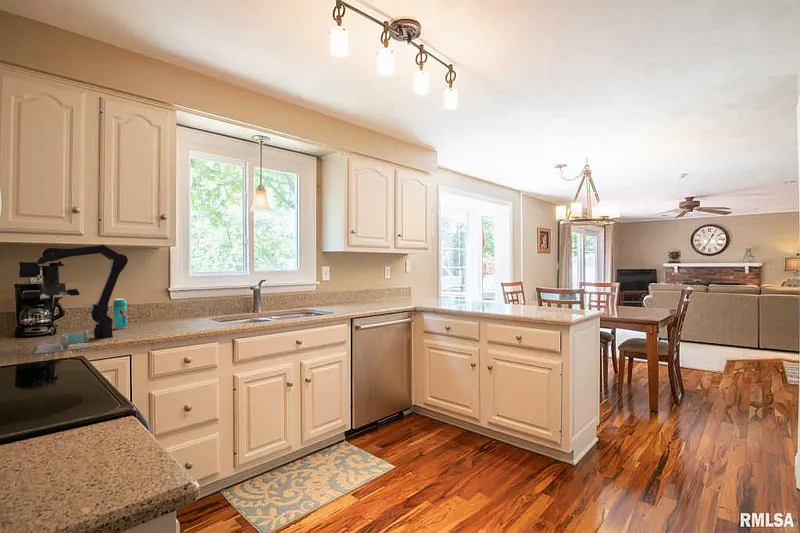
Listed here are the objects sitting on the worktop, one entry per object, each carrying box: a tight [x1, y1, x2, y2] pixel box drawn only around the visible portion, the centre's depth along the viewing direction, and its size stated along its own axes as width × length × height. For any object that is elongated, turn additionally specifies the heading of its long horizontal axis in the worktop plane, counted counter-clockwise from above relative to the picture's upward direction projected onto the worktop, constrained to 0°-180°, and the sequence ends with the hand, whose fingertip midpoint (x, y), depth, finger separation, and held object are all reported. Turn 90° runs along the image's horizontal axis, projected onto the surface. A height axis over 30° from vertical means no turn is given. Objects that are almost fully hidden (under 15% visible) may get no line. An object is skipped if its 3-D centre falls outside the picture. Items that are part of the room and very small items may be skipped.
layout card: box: [34, 342, 90, 355], centre depth 175 cm, size 17×18×1 cm
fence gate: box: [60, 333, 68, 348], centre depth 174 cm, size 10×2×5 cm, turn 43°
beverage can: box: [112, 298, 128, 330], centre depth 217 cm, size 6×6×15 cm
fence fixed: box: [65, 329, 90, 345], centre depth 179 cm, size 7×2×5 cm, turn 127°
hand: (52, 313), depth 182 cm, fingers closed
